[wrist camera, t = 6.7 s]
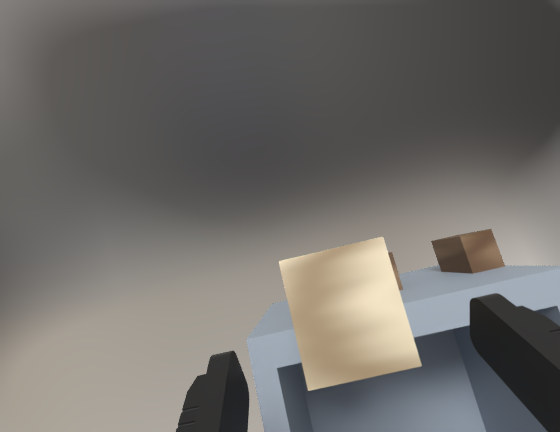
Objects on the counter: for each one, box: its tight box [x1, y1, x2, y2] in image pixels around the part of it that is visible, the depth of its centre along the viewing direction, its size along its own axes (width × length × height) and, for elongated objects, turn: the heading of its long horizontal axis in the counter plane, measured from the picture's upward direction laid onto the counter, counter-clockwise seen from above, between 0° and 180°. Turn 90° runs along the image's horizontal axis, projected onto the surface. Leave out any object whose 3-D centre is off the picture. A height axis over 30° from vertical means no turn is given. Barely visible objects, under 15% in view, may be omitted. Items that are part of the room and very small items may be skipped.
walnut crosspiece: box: [388, 229, 505, 291], centre depth 25 cm, size 10×5×3 cm, turn 86°
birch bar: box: [279, 237, 422, 391], centre depth 20 cm, size 4×22×4 cm, turn 176°
